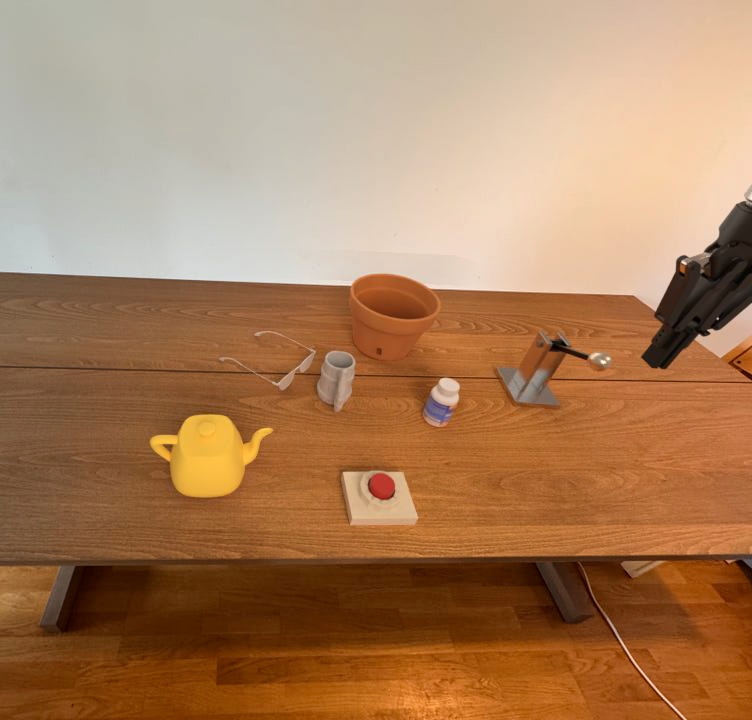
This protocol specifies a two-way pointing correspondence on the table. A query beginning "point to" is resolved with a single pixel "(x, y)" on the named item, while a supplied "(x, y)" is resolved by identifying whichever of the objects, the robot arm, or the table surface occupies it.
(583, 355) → the lever
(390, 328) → the flower pot
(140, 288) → the table surface
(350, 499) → the button box
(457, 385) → the pill bottle
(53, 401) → the table surface
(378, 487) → the button
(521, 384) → the bracket
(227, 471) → the teapot
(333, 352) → the mug
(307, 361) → the eyeglasses
